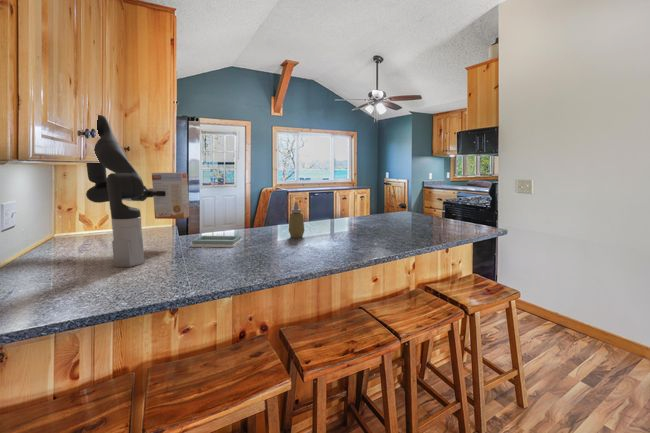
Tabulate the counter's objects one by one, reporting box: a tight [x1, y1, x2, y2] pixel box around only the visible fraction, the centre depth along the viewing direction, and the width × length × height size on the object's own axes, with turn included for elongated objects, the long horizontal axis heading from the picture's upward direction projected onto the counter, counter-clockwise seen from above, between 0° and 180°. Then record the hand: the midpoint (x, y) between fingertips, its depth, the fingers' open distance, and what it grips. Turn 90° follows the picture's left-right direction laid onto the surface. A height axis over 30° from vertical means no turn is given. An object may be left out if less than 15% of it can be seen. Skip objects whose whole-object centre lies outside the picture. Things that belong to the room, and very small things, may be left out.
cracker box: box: [151, 172, 191, 220], centre depth 154 cm, size 14×6×21 cm, turn 84°
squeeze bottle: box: [288, 201, 305, 239], centre depth 170 cm, size 8×8×18 cm
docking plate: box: [189, 235, 244, 248], centre depth 157 cm, size 14×20×2 cm
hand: (168, 193), depth 154 cm, fingers closed on cracker box, 6 cm apart
